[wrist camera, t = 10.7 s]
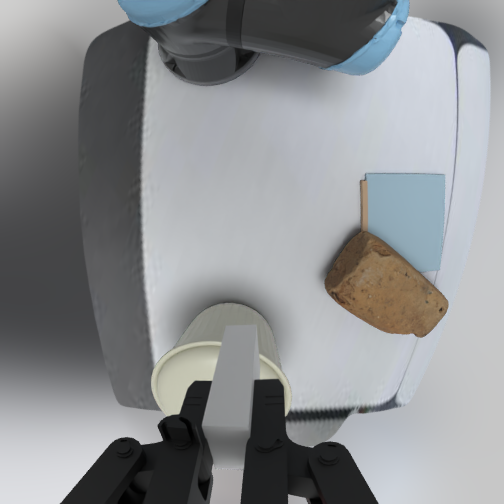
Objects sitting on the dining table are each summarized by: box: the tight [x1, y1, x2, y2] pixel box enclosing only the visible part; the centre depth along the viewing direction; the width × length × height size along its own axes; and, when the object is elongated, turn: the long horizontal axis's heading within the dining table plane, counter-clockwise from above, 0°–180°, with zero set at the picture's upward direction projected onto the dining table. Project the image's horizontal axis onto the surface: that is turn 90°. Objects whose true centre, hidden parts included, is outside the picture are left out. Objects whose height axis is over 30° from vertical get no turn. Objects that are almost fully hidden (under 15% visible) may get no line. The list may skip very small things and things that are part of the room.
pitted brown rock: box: [324, 231, 449, 338], centre depth 44 cm, size 11×8×20 cm
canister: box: [151, 303, 292, 417], centre depth 42 cm, size 18×18×21 cm
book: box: [360, 174, 445, 272], centre depth 45 cm, size 16×15×1 cm
